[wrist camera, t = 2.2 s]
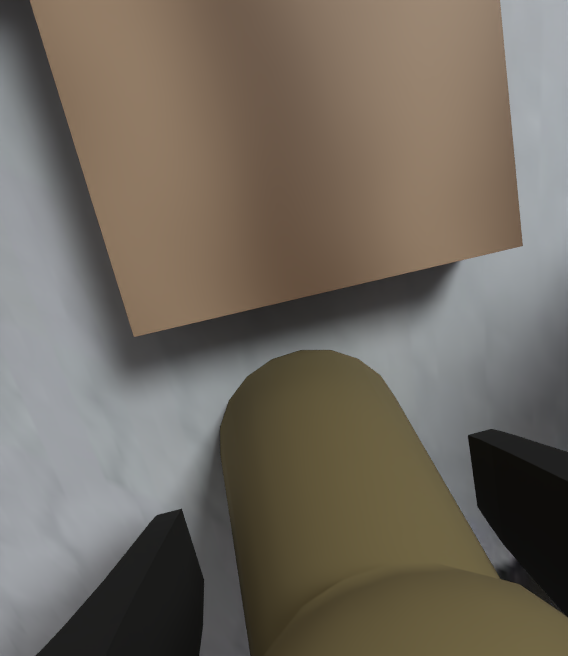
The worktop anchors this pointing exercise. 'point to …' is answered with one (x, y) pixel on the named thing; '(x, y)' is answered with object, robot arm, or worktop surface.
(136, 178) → the notched board
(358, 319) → the worktop surface
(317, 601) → the cork
